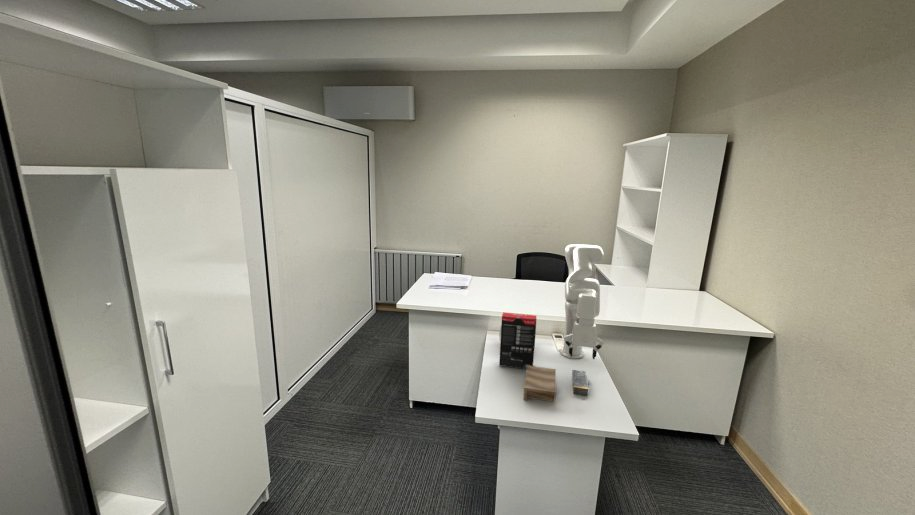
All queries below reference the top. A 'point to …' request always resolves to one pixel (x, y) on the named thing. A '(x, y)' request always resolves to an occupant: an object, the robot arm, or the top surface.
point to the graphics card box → (517, 340)
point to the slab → (579, 383)
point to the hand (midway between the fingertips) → (582, 356)
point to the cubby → (540, 383)
